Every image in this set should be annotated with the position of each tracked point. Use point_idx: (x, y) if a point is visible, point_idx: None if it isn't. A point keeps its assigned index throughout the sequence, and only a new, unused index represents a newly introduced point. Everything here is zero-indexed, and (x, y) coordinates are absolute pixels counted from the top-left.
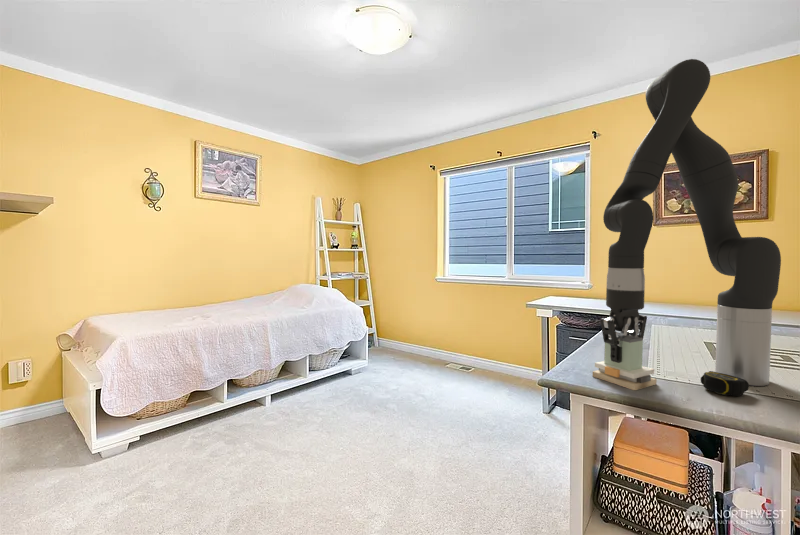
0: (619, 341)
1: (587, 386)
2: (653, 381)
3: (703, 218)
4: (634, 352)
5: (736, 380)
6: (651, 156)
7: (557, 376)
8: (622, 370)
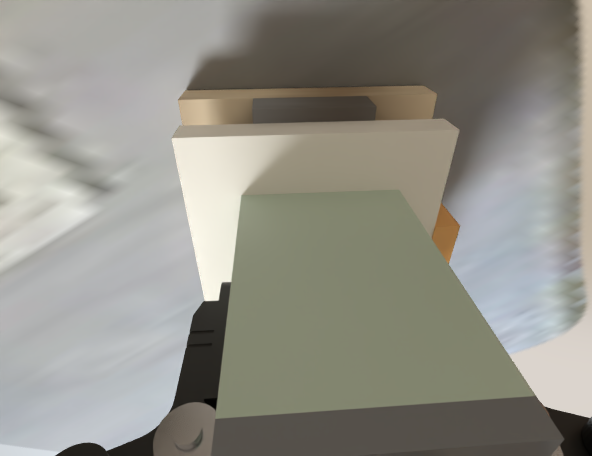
0: (557, 448)
1: (545, 226)
2: (219, 95)
3: None
4: (380, 286)
5: None
6: None
7: (503, 337)
8: (428, 214)
